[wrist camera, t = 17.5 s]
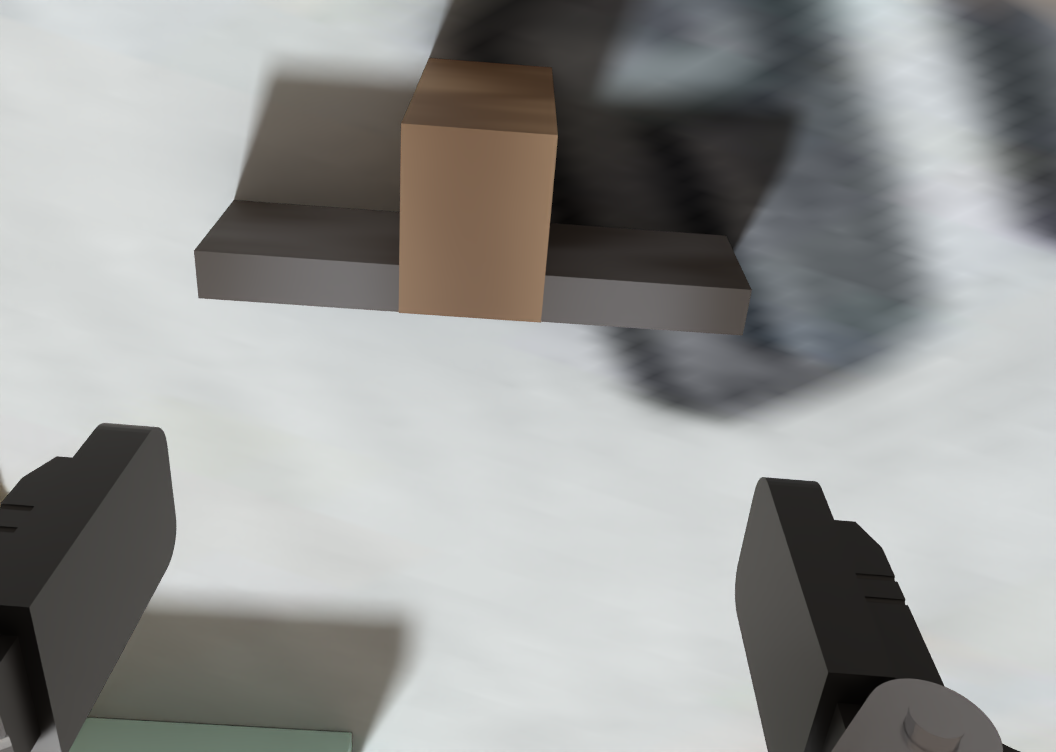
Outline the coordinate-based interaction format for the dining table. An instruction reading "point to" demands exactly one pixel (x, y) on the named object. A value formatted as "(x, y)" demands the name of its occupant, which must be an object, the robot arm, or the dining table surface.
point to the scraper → (475, 230)
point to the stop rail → (201, 738)
